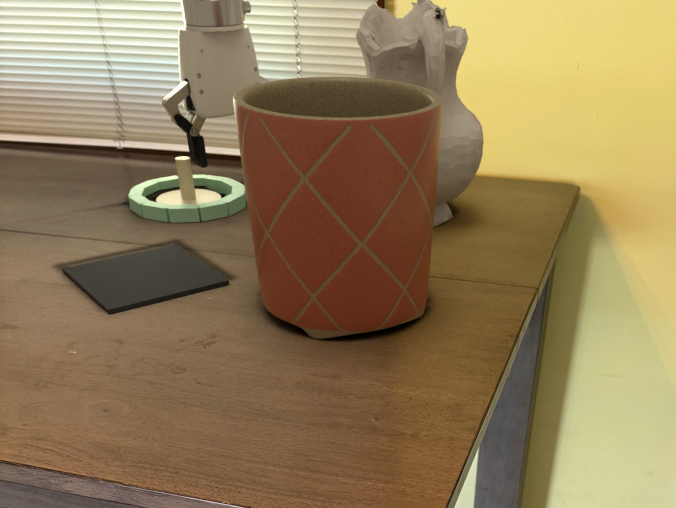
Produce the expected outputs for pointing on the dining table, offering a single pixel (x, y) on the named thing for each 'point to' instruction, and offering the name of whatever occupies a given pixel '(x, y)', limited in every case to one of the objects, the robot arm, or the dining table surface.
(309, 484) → the dining table surface
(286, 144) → the planter
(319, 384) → the dining table surface
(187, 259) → the mat
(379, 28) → the ceramic pitcher
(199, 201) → the ring holder
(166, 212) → the ring
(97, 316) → the dining table surface
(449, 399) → the dining table surface
